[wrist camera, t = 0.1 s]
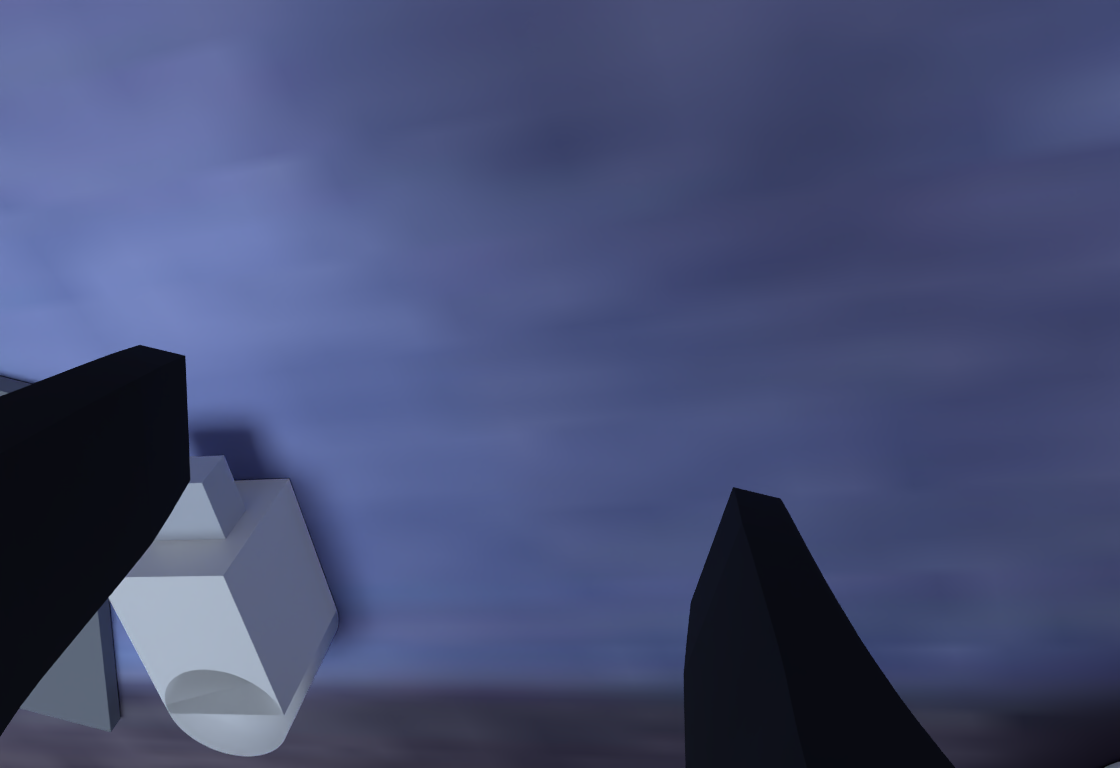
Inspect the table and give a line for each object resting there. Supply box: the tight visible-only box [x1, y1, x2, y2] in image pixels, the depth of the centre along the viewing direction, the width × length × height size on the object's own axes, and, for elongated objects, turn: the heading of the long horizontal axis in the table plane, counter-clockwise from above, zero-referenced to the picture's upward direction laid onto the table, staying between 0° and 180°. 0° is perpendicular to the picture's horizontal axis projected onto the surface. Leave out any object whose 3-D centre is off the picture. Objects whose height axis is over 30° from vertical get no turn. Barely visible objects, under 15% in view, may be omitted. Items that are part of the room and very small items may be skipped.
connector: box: [109, 455, 339, 756], centre depth 25 cm, size 8×4×4 cm, turn 9°
